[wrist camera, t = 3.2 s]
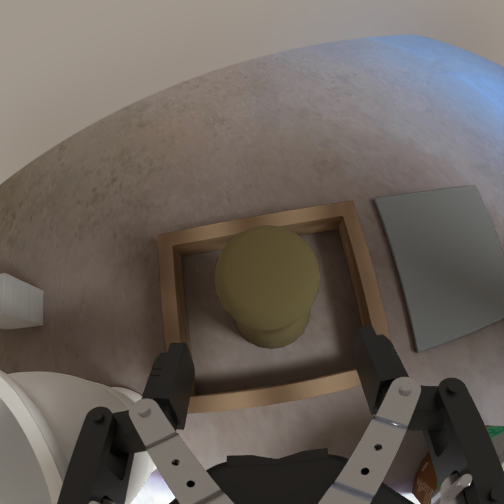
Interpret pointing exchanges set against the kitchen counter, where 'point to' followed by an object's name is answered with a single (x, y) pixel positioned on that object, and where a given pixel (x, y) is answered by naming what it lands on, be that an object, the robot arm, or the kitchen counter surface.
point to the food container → (427, 477)
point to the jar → (52, 433)
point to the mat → (445, 262)
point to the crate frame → (216, 239)
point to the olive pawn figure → (268, 284)
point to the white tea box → (19, 304)
